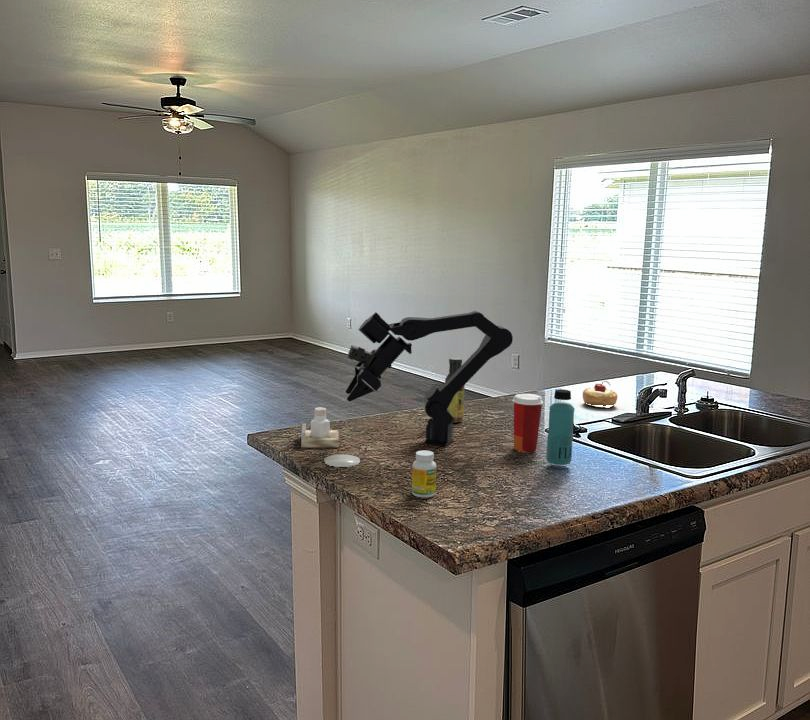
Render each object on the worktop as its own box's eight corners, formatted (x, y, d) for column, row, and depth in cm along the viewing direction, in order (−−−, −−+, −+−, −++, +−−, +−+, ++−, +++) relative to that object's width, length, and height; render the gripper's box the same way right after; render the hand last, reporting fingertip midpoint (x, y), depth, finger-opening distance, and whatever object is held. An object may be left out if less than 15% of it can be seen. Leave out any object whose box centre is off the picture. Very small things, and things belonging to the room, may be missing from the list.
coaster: (366, 460, 187) (366, 458, 187) (348, 469, 179) (348, 467, 179) (336, 454, 191) (336, 452, 191) (317, 463, 183) (317, 461, 183)
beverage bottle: (556, 472, 182) (561, 393, 179) (539, 464, 188) (544, 388, 185) (576, 469, 185) (582, 391, 182) (559, 461, 191) (564, 386, 188)
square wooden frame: (337, 437, 208) (338, 423, 207) (338, 447, 198) (338, 432, 197) (302, 437, 207) (302, 423, 206) (301, 447, 197) (301, 432, 196)
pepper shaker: (320, 439, 205) (320, 406, 203) (330, 442, 202) (330, 408, 201) (309, 442, 202) (310, 408, 200) (319, 445, 199) (320, 411, 198)
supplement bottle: (419, 488, 168) (421, 447, 166) (439, 493, 165) (441, 452, 164) (406, 494, 164) (408, 453, 162) (427, 500, 161) (429, 457, 159)
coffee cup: (543, 448, 203) (546, 395, 200) (535, 455, 196) (539, 401, 193) (514, 443, 206) (517, 391, 204) (505, 451, 199) (508, 397, 196)
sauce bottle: (461, 424, 226) (464, 361, 222) (441, 422, 227) (444, 359, 224) (464, 419, 232) (467, 357, 229) (444, 417, 233) (447, 356, 230)
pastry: (575, 402, 262) (577, 377, 260) (605, 401, 265) (607, 377, 263) (592, 410, 250) (594, 384, 249) (623, 409, 253) (625, 384, 252)
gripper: (361, 330, 207) (324, 371, 208) (366, 340, 189) (325, 384, 190) (390, 356, 210) (353, 396, 210) (397, 368, 191) (357, 412, 192)
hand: (347, 396), depth 201 cm, fingers open, 9 cm apart
